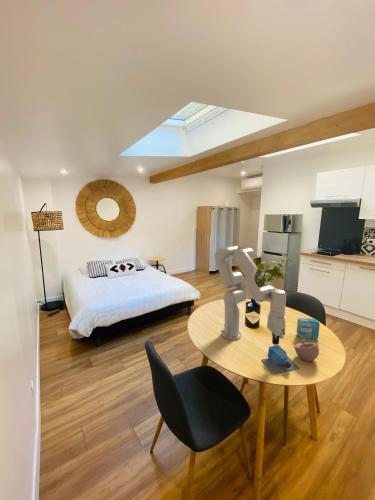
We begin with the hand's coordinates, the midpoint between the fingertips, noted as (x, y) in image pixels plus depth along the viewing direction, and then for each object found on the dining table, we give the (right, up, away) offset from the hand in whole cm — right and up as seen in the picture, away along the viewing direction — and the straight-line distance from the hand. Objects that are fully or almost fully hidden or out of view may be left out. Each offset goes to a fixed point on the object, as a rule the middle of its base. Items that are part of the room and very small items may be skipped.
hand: (275, 343), depth 123 cm
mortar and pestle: (+18, -10, +3) cm, 21 cm away
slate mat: (+2, -11, -1) cm, 11 cm away
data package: (+30, -6, +24) cm, 39 cm away
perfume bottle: (0, -5, +4) cm, 7 cm away
